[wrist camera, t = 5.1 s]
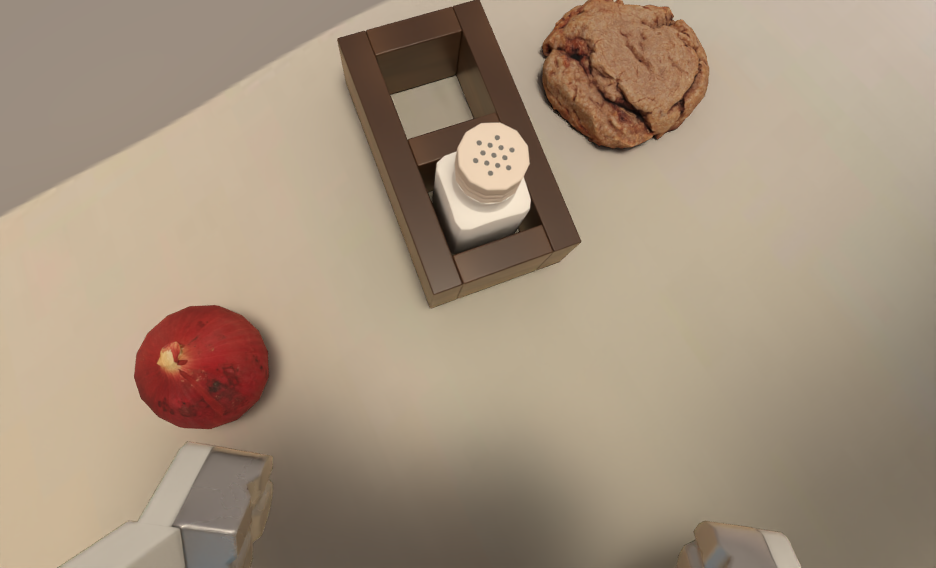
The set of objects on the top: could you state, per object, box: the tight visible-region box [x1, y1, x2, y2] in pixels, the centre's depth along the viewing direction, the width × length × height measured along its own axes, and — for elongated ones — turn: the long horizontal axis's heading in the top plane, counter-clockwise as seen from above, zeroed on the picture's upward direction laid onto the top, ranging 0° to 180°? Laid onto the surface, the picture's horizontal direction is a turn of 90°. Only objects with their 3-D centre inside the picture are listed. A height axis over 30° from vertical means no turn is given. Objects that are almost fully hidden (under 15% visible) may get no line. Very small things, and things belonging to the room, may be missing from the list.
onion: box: [134, 305, 269, 429], centre depth 28 cm, size 6×6×8 cm
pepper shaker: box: [432, 123, 531, 256], centre depth 30 cm, size 4×4×10 cm
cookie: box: [542, 0, 709, 149], centre depth 36 cm, size 10×11×3 cm
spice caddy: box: [337, 0, 581, 308], centre depth 33 cm, size 8×15×4 cm, turn 21°
